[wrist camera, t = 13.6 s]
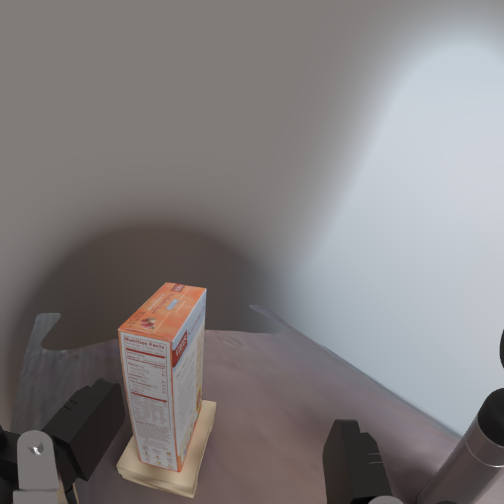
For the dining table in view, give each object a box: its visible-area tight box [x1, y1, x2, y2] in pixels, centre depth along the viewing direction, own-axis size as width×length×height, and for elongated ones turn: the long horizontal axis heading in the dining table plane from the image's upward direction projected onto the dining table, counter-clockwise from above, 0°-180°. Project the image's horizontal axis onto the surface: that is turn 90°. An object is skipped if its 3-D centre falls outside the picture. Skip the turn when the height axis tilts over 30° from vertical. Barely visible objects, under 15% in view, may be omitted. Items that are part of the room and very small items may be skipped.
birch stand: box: [116, 400, 216, 498], centre depth 36 cm, size 10×18×4 cm, turn 176°
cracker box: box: [118, 283, 206, 472], centre depth 33 cm, size 14×6×21 cm, turn 176°
